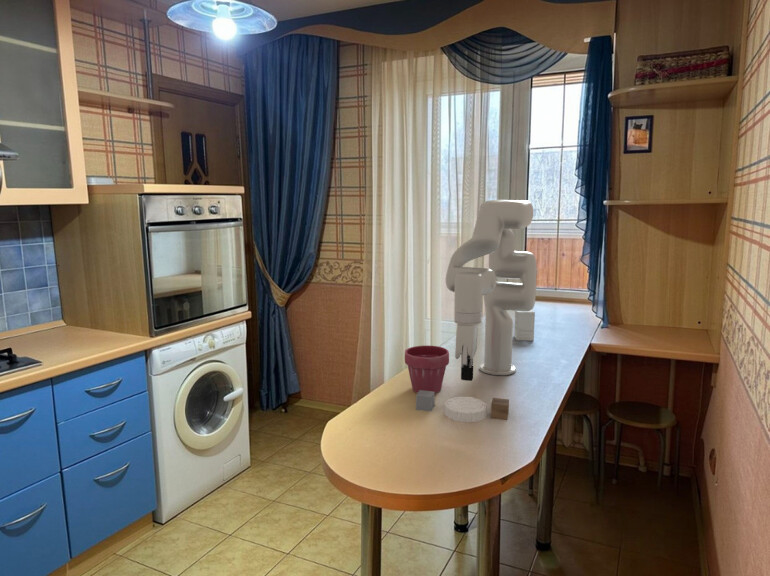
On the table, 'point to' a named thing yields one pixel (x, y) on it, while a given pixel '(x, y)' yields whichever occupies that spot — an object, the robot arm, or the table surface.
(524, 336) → the supplement box
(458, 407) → the mooncake
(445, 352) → the plant pot
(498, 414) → the walnut block
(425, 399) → the slate-grey block
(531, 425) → the table surface
